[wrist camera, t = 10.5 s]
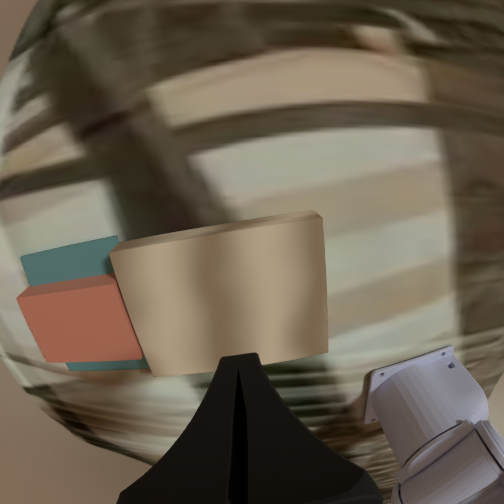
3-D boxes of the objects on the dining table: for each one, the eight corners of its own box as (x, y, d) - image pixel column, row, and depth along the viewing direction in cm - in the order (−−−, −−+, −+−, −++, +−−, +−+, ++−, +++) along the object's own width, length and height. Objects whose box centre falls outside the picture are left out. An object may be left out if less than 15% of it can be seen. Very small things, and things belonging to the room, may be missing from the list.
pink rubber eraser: (122, 271, 20) (113, 284, 18) (147, 342, 22) (141, 359, 20) (28, 286, 20) (16, 298, 18) (56, 348, 22) (47, 362, 20)
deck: (313, 210, 20) (322, 217, 18) (321, 336, 23) (328, 352, 21) (118, 242, 20) (108, 252, 18) (158, 360, 23) (153, 376, 21)
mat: (117, 235, 19) (115, 236, 19) (160, 365, 23) (159, 367, 23) (22, 256, 19) (20, 257, 19) (71, 368, 23) (70, 370, 23)
